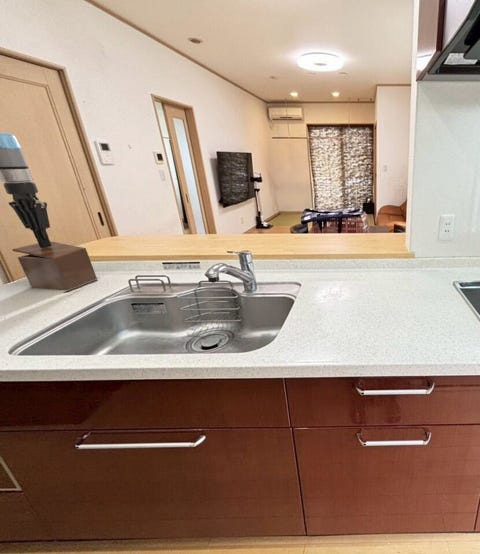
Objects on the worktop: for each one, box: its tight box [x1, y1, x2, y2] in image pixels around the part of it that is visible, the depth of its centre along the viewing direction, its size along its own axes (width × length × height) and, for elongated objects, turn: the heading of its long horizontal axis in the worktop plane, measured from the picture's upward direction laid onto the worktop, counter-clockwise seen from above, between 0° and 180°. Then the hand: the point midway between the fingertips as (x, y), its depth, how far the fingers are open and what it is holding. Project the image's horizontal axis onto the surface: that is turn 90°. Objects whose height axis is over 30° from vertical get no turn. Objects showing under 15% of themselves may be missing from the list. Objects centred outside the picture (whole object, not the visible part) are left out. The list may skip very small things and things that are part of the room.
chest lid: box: [11, 240, 87, 259], centre depth 112 cm, size 16×12×1 cm
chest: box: [17, 249, 99, 293], centre depth 115 cm, size 16×12×13 cm
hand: (46, 246), depth 112 cm, fingers closed
